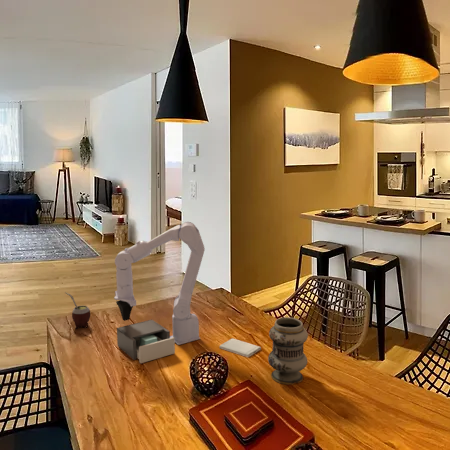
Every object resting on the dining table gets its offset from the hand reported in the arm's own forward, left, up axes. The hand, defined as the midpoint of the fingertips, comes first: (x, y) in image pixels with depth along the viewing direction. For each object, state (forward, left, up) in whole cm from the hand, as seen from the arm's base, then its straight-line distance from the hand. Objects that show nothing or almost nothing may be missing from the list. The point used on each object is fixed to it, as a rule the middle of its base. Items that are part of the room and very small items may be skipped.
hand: (126, 319), depth 164 cm
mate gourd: (+9, -24, -9) cm, 28 cm away
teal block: (-3, +13, -8) cm, 15 cm away
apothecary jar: (-30, +55, -9) cm, 63 cm away
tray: (-3, +11, -8) cm, 14 cm away
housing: (-3, +9, -9) cm, 12 cm away
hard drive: (-30, +30, -9) cm, 43 cm away
